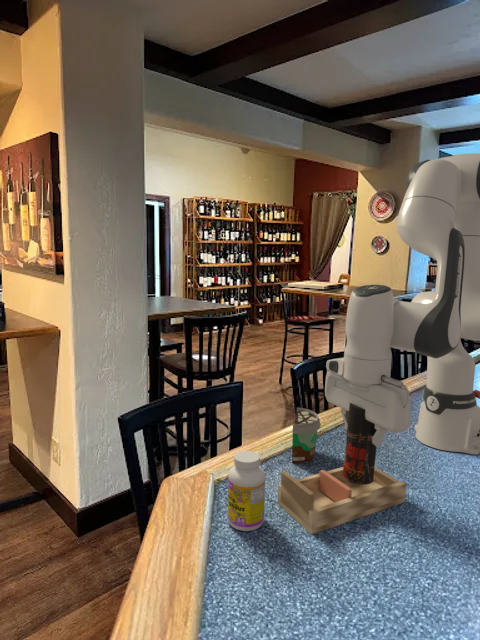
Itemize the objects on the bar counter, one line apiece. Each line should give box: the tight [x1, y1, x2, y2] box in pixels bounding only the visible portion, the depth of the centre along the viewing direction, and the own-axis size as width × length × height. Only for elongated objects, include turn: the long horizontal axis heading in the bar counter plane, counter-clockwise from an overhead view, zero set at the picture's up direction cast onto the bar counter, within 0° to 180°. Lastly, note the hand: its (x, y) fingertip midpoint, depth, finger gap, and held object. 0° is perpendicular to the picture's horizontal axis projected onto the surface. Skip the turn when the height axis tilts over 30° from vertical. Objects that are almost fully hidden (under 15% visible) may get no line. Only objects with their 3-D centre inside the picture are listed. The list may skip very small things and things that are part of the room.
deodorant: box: [342, 403, 378, 485], centre depth 91 cm, size 6×6×15 cm
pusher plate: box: [318, 469, 352, 502], centre depth 90 cm, size 1×8×4 cm, turn 28°
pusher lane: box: [277, 466, 408, 535], centre depth 90 cm, size 23×11×7 cm, turn 118°
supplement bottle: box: [227, 450, 266, 532], centre depth 83 cm, size 7×7×13 cm
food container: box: [291, 407, 321, 465], centre depth 110 cm, size 12×6×10 cm, turn 168°
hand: (362, 437), depth 91 cm, fingers closed on deodorant, 6 cm apart
